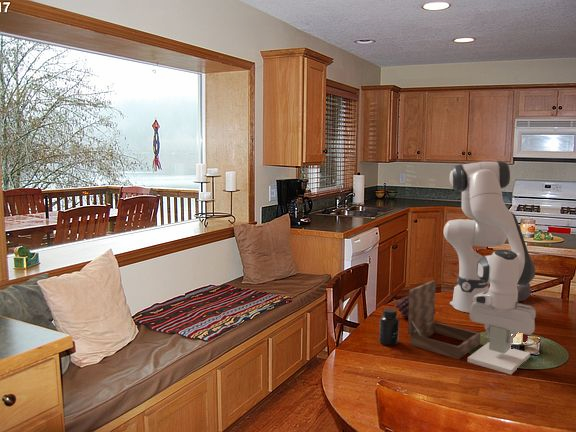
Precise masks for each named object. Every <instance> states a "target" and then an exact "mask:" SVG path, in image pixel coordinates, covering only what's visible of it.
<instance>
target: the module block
mask: <svg viewBox="0 0 576 432" xmlns="http://www.w3.org/2000/svg"><path fill="white" fill-rule="evenodd" d="M509 336H510V337H511V331H510V330H507V329H503V328H499V327H495V326H490V338H489V341H488V342H489V350H493V351H497V352H500V353H506V352H507V351H508V350H509V349H510V348H511V343H507V338H508V337H509Z"/></svg>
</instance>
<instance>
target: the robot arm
mask: <svg viewBox="0 0 576 432" xmlns="http://www.w3.org/2000/svg"><path fill="white" fill-rule="evenodd" d="M448 177H449V183H450V185H451V188H452V189H453V190H454V191H456V192H461V211H462V213H464V215H465V216H466V217H467V218H470V219H467V218H466V219H462V218H457V219H449V220H447V222H446V223H445V225H444V226H443V236H444V238H445V240H446V241H447V242H448V243H449V244H450V245H451V246H452V247H453V248H454V250H455V252H456V254H457V257H458V266H459V267H458V268H459V269H458V270H459V271H458V275H457V280H456V281H457V285H455V286H454V288H453V295H452V296H453V297H452V300H451V301H450V302H449V305H451V306H452V307H453V308H454V309H455V310H457V311H460V312H463V313H464V312H465V313H469V319H470V321H471V322H473V323H478V324H480V325H484V330H485V331H486V334H487V335H486V336H487V339H490V326H495V327H499V328H503V329H507V330H510V331H511V334H513V335H512V336H511V337H510V336H509V337H508V338H507V343H510V345H511V344H512V345H513V344H514V343H513V338H514V337H515V336H516V334H517V333H518V332H519V333H523V334H527V335H528V336H529V335H532V334H533V333H534V332H535V330H536V327H535V326H536V324H535V318H536V317H537V316H536V315H537V311H536V309H535V308H534V307H533V306H532V305H530V304H524V303H520V302H518V301H517V299H518V289H517V287H518V286H519V285H526V284H528V283H529V284H530V282H532V280H534V278H535V277H536V267H535V264H534V261H533V260H532V258H531V257H532V256H531V255H530V253H529V251H528V247H527V245H526V242H525V238H524V235H523V232H522V229H521V227H520V224H519V222H518V219H517V217H516V215H515V213H513V212H512V211H510V210H509V209H508V207H507V205H506V204H505V202H504V200H503V199H504V198H503V192H502V189H504V188H507V186H509V184H510V181H511V179H512V171H511V168H510V166H509V164H508V163H507V162H506V161H501V160H497V161H478V162H470V163H465V164H462V163H461V164H457V165H454V166H453V167H452V168H451V170H450V173H449V176H448ZM507 241H508V243H509V247H510V250H509V249H496V250H494V251H493V252H492V254H490V255H481V254H480V253H478V252H476V251H475V250H474V249H473V247H474V246H475V247H489V248H492V247H501V246H503V245H504V244H505V243H506V242H507ZM488 284H489V286H488Z"/></svg>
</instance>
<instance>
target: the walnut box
mask: <svg viewBox="0 0 576 432" xmlns="http://www.w3.org/2000/svg"><path fill="white" fill-rule="evenodd" d="M408 291H409V293H408V296H409V316H408V318H407V320H408V321H407V323H408V324H407V334H408V335H410V341H409V345H410V346H412V347H416V348H419V349H422V350H425V351H428V352H433V353H436V354H439V355H443V356H446V357H450V358H453V359H456V360H460V359H462V357H464V356H465V355H467V354H468V353H469V352H472V350H474V349H476V348H477V347H478V346H479V345H481V335H482V334H481V333H480V332H477V331H473V330H469V329H466V328H461V327H456V326H453V325H449V324H445V323H442V322H441V323H440V322H437V321H435V313H434V309H435V303H436V300H435V299H436V280H433V279H432V280H430V281H428V282H425V283H424V284H421V285H419V286H416V287H414V288H411V289H409V290H408ZM434 334H438V335H441V336H445V337H448V338H452V339H456V340H460V341H463V342H462V343H460V344H459V345H454V344H451V343H448V342H444V341H440V340H437V339H433V338H429V337H430V336H432V335H434Z"/></svg>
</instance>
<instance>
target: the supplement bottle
mask: <svg viewBox="0 0 576 432" xmlns="http://www.w3.org/2000/svg"><path fill="white" fill-rule="evenodd" d="M397 315H398V314H397V310H396V308H384V309H383V310H382V316H381V317H380V319H379V332H378V341H379V343H380V344H381V345H385V346H396V345H398V343H399V335H400V334H399V331H400V320H399V318H398V317H397Z"/></svg>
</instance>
